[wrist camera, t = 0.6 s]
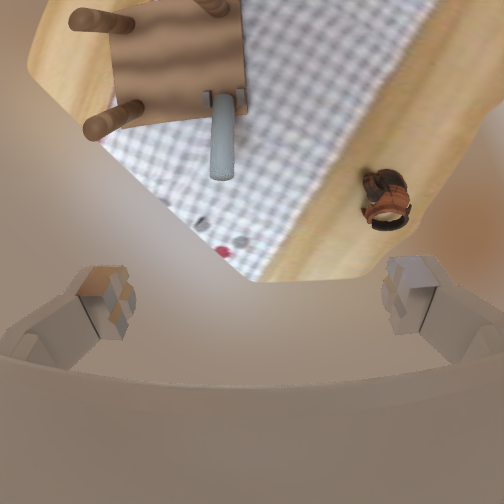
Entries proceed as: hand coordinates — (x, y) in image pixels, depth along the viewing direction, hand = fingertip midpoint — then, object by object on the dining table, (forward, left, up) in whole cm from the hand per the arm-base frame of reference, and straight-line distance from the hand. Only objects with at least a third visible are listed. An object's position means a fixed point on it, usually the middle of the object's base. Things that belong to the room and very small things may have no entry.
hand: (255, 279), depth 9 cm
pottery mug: (+16, +20, -43) cm, 50 cm away
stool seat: (-8, -12, -42) cm, 45 cm away
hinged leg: (-1, -5, -38) cm, 39 cm away
